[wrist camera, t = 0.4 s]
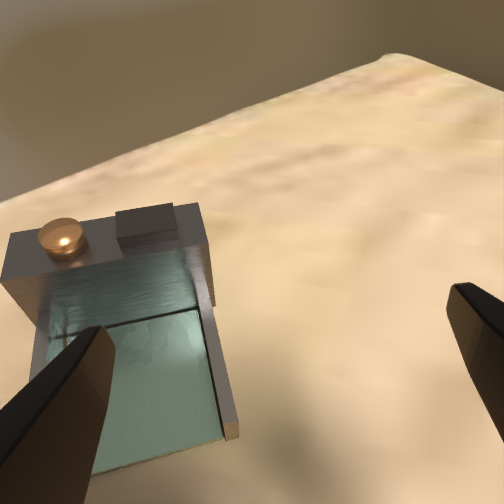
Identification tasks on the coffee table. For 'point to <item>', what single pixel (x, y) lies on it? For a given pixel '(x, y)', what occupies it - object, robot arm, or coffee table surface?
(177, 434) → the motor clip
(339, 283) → the coffee table surface
